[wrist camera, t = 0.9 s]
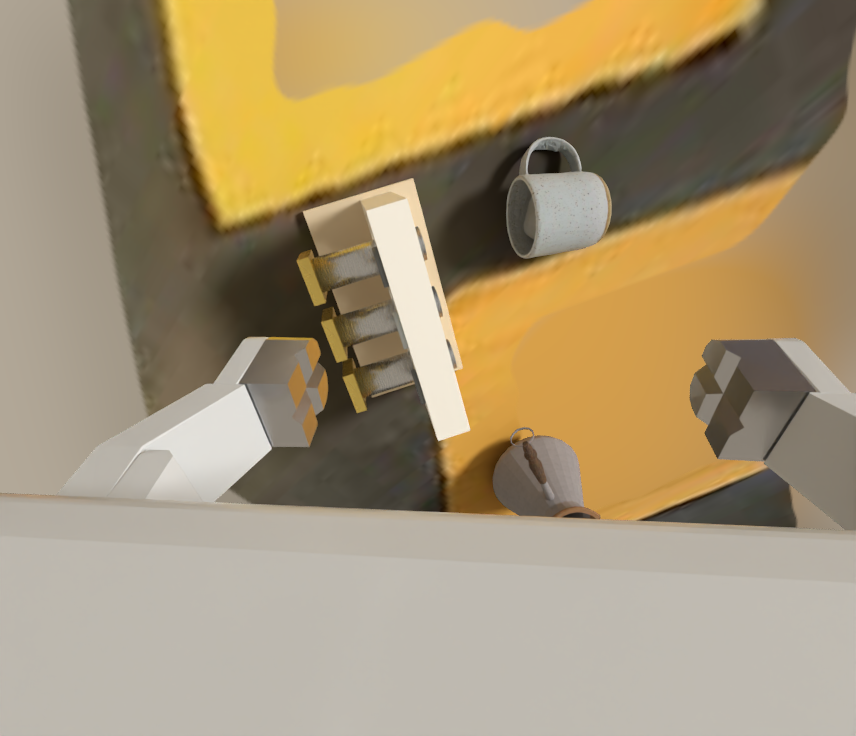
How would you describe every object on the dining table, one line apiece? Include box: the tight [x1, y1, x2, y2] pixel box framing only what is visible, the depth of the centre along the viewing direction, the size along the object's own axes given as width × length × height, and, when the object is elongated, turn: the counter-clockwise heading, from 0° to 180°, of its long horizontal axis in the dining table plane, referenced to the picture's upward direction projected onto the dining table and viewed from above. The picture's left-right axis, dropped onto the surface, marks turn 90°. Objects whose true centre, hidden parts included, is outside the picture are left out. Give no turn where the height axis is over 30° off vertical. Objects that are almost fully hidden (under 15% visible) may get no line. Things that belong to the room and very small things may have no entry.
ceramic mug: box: [506, 137, 611, 258], centre depth 44 cm, size 11×8×8 cm
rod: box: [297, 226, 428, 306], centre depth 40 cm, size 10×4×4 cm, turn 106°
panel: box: [303, 178, 470, 441], centre depth 42 cm, size 11×21×14 cm, turn 16°
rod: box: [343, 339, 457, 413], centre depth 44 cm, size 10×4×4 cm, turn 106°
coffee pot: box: [493, 427, 600, 519], centre depth 52 cm, size 21×12×15 cm, turn 29°
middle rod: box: [321, 286, 443, 363], centre depth 42 cm, size 10×4×4 cm, turn 106°
